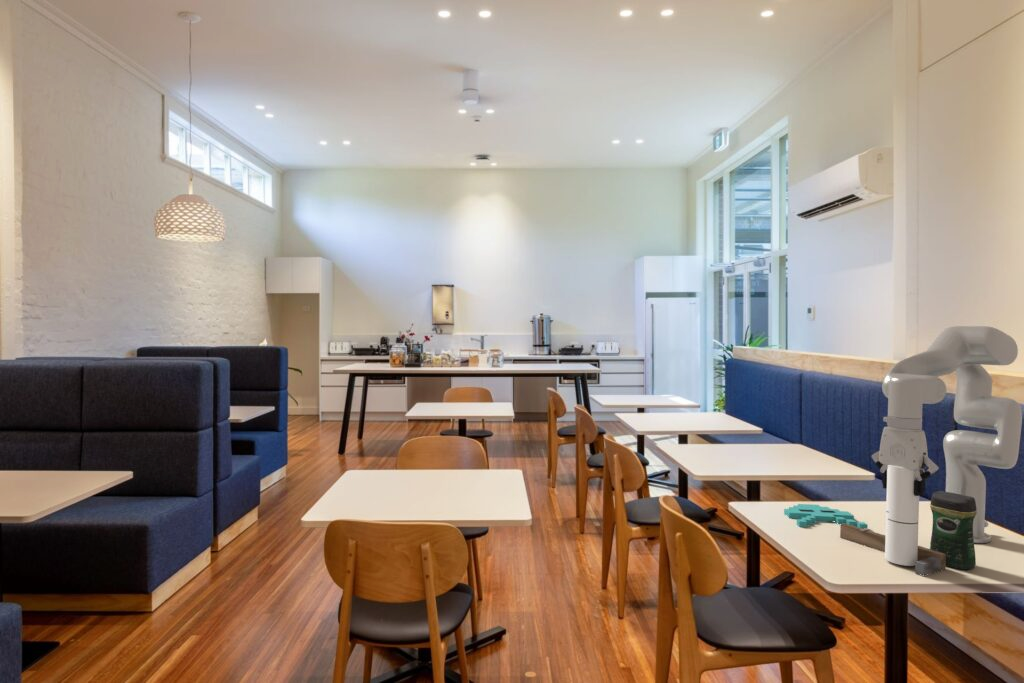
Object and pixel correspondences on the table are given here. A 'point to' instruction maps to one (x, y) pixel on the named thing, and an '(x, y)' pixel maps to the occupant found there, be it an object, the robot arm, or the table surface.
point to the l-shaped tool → (926, 557)
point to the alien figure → (821, 515)
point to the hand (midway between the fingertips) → (902, 490)
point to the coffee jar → (954, 528)
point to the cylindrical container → (901, 517)
